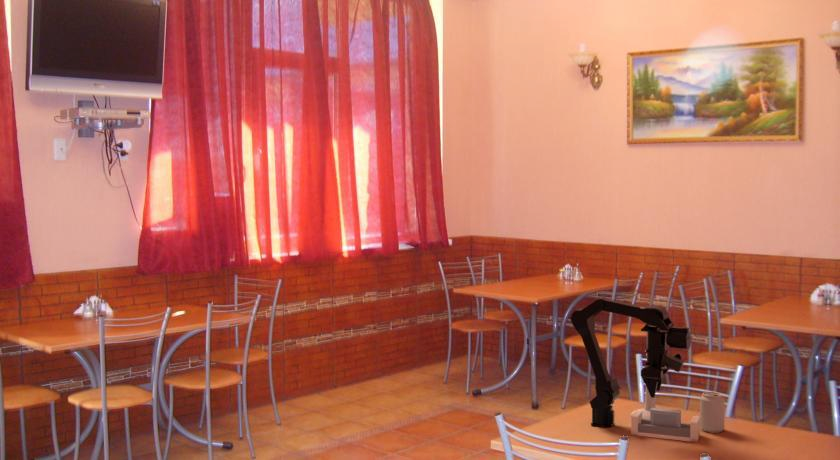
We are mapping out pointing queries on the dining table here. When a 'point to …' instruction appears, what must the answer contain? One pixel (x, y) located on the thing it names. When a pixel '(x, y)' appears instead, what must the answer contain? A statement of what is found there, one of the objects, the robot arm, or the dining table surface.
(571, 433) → the dining table surface
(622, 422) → the dining table surface
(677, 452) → the dining table surface
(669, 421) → the grey rectangular block
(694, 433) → the track
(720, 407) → the can
